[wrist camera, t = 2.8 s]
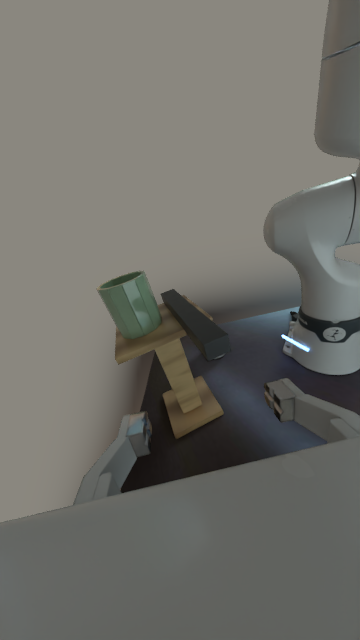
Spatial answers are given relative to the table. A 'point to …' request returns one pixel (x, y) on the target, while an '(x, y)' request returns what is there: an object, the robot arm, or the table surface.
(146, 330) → the green cup
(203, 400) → the birch stand
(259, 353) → the table surface
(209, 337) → the black bar
